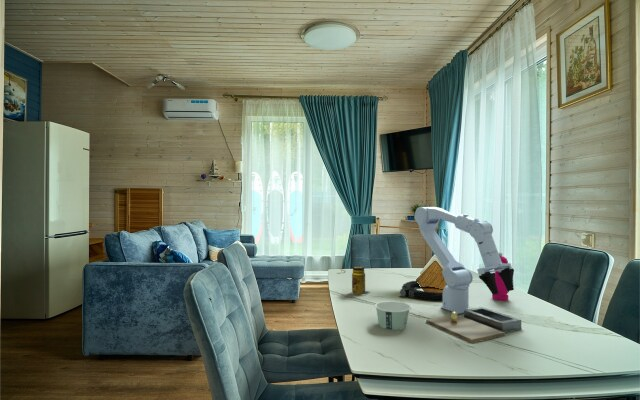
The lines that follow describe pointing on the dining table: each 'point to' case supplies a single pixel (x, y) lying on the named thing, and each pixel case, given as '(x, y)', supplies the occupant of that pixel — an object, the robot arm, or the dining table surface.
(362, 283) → the condiment
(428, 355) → the dining table surface
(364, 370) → the dining table surface
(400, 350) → the dining table surface
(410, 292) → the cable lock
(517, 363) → the dining table surface
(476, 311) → the grey shallow tray
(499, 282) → the pepper mill
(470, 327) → the board
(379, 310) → the food container
